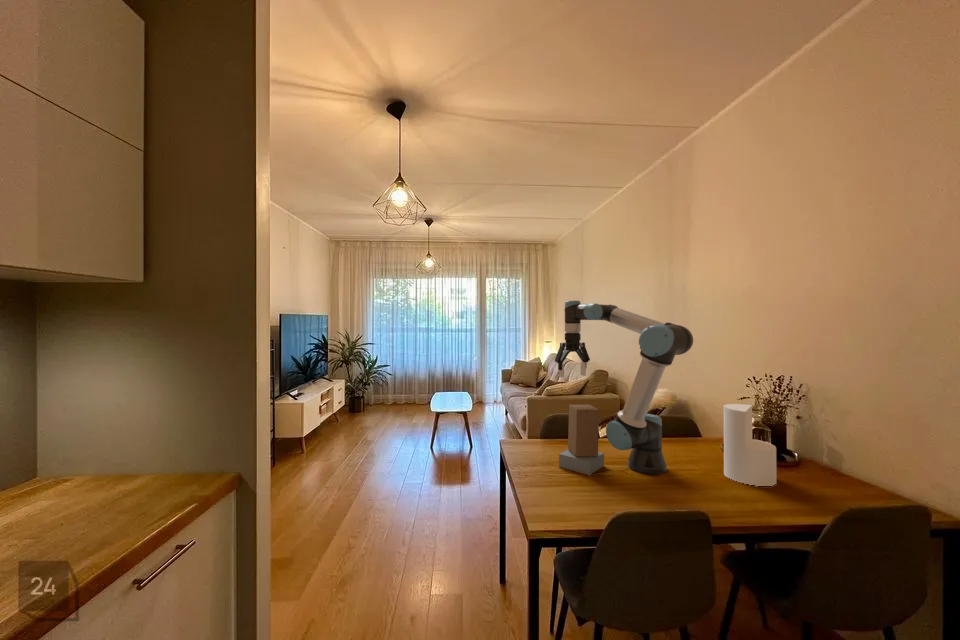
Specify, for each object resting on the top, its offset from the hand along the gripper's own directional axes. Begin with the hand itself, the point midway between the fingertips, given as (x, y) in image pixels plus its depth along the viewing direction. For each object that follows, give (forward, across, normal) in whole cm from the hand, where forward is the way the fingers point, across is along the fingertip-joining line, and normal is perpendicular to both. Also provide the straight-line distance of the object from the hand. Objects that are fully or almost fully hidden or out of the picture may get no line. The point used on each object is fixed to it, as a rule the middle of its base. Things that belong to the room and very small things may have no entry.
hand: (572, 376), depth 182 cm
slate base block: (+37, +9, +16) cm, 41 cm away
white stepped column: (+37, -43, +56) cm, 80 cm away
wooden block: (+31, +8, +16) cm, 36 cm away
